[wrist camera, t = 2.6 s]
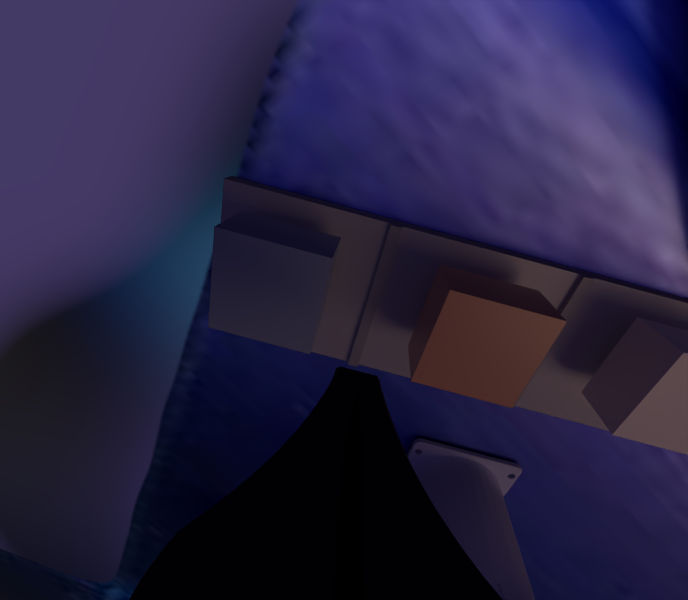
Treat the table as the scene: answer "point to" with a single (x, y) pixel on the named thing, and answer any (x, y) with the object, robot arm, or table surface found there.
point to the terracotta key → (481, 336)
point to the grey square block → (270, 280)
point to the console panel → (417, 278)
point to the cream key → (645, 386)
